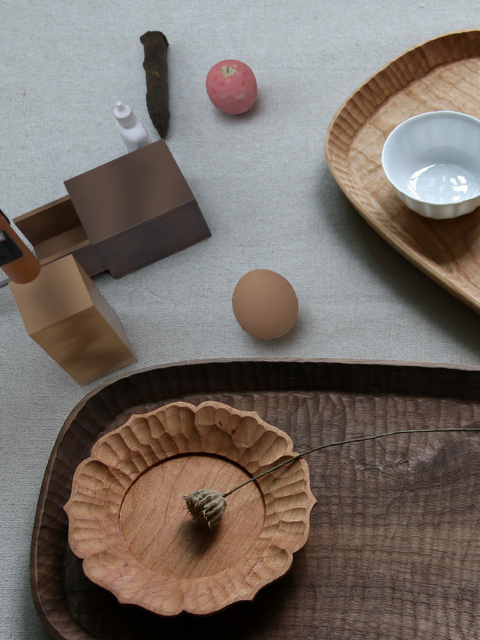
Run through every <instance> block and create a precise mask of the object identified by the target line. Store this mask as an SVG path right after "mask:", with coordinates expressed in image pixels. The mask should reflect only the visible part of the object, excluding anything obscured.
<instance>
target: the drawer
mask: <svg viewBox="0 0 480 640" xmlns="http://www.w3.org/2000/svg"><path fill="white" fill-rule="evenodd" d="M11 221H12V223H13V225H15V227H16V228H17V229H18V230H19V232H20V233H21V234H22V236H23V237H24V238H25V239H26V240H27V241H28V242H29V244H30V245H31V246H32V248H33V251H34V253H35V255H36V258H37V259H38V261H39V262H40V264H41V267H44V266H46V265H48V264H50V263H52V262H55V261H57V260H59V259H61V258H64V257H66V256H68V255H70V254H72V255H73V257H74V258H75V259H76V261H77V262H78V263H79V264H80V266H81V267H82V268H83V270H84V271H85V272H86V274H87V275H88V276H89V278H91V277H94V276H97V275H98V274H100V273H102V272H105V271H107V270H109V269H108V268H107V266H106V265H105V264H104V262H103V261H102V259H101V258H100V257H99V255H98V254H97V252H96V251H95V250H94V248H93V247H92V245H91V243H90V241H89V239H88V236H87V234H86V232H85V230H84V227H83V225H82V223H81V221H80V219H79V216H78V214H77V212H76V210H75V207H74V205H73V203H72V201H71V199H70V196H69V194H68V193H67V194H66V195H64V196H62V197H60V198H57V199H55V200H52V201H50V202H48V203H45V204H43V205H41V206H38V207H36V208H35V209H32V210H29V211H27V212H25V213H22V214H21V215H18V216H16V217H14V218H12V219H11ZM10 281H11V280H10V278H9V277H7V278H6V279H3V280H1V281H0V290H1V289H3V288H5V287H7V286H9V284H8V282H10Z"/></svg>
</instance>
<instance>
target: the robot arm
mask: <svg viewBox="0 0 480 640" xmlns="http://www.w3.org/2000/svg"><path fill="white" fill-rule="evenodd" d="M0 213H1V215H2V216H3V217H4V218H5V220H6V221H7V222H8V223H9V225H10V226H11V224H12V223H11V221H10V218H9V217H8V216H7V215H6V213H5V212H4V211H3V209H1V208H0ZM21 257H23V253H22V250H21V249H20V248H19V247H18V245H17V244H16V243H15V242H14V241H13V239H12V238H11V237H10V236H9V234H8V233H7V232H6V231H5V230H4V231H1V230H0V267H1V266H3V265H5V264H8V263H10V262H12V261H14V260H17V259H19V258H21Z"/></svg>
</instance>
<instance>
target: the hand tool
mask: <svg viewBox="0 0 480 640" xmlns="http://www.w3.org/2000/svg"><path fill="white" fill-rule="evenodd" d="M139 42H140V44H141V45H142V47H143V53H144V54H143V56H144V57H143V61H142V68H143V70H144V72H145V84H146V93H145V106H146V109H147V113H148V116H149V119H150V121H151V123H152V125H153V127H154V129H155V130H156V132H157V134H158V136H159V137H160V139H162V138H164V140H165V139H166V137H167V134H168V130H169V127H170V126H169V124H170V118H171V113H170V109H169V92H168V87H169V84H168V63H167V61H168V60H167V51H168V48H169V47H170V43H169V41H168V38H167V36H166V35H165V34H164V33H163V32H162V31H160V30H147V31H146V32H144V33H143V34H142V35H140V36H139Z"/></svg>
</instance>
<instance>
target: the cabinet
mask: <svg viewBox="0 0 480 640" xmlns="http://www.w3.org/2000/svg"><path fill="white" fill-rule="evenodd" d="M152 142H153V143H151V144H149V145H146V146H144V147H142V148H139V149H137V150H135V151H133V152H130V153H129V152H128V153H126V154H124V155H121V156H119V157H117V158H114V159H112V160H110V161H107V162H106V163H105V162H104V163H103V164H101V165H98V166H96V167H94V168H92V169H89V170H87V171H84V172H82V173H80V174H77V175H74V176H73V177H71V178H68V179H66V180H64V181H63V185H64V187H65V190H66V192H67V195H68V194H69V196H70V199H71V201H72V203H73V205H74V207H75V210H76V212H77V214H78V216H79V219H80V221H81V223H82V225H83V227H84V230H85V232H86V234H87V236H88V239H89V241H90V243H91V245H92V247H93V248H94V250H95V251H96V252H97V254H98V255H99V257H100V258H101V259H102V261H103V262H104V264H105V265H106V266H107V268H108V269H107V270H108V271H109V272H110V274H111V275H112V277H113V278H114V280H115V281H117V280H119V279H121V278H123V277H126V276H127V275H130V274H132V273H134V272H137V271H139V270H141V269H142V268H145V267H148V266H149V265H152V264H154V263H157V262H158V261H160V260H161V261H162V259H164V258H167V257H169V256H172V255H174V254H176V253H178V252H180V251H182V250H184V249H186V248H189V247H191V246H193V245H195V244H197V243H200V242H202V241H203V240H206V239H209V238H211V237H213V234H212V232H211V230H210V228H209V226H208V223H207V221H206V219H205V217H204V214H203V212H202V210H201V207H200V205H199V204H198V201H197V199H196V197H195V195H194V194H193V192H192V190H191V189H192V188H191V187H190V186H189V184H188V181H187V180H186V178H185V176H184V175H183V172H182V170H181V168H180V166H179V165H178V163H177V161H176V159H175V158H174V155H173V153H172V152H171V149H170V147H169V145H168V144H167V142H166V140H165V139H164V138H162V139H161V138H160V139H157V140H156V141H152Z"/></svg>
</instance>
